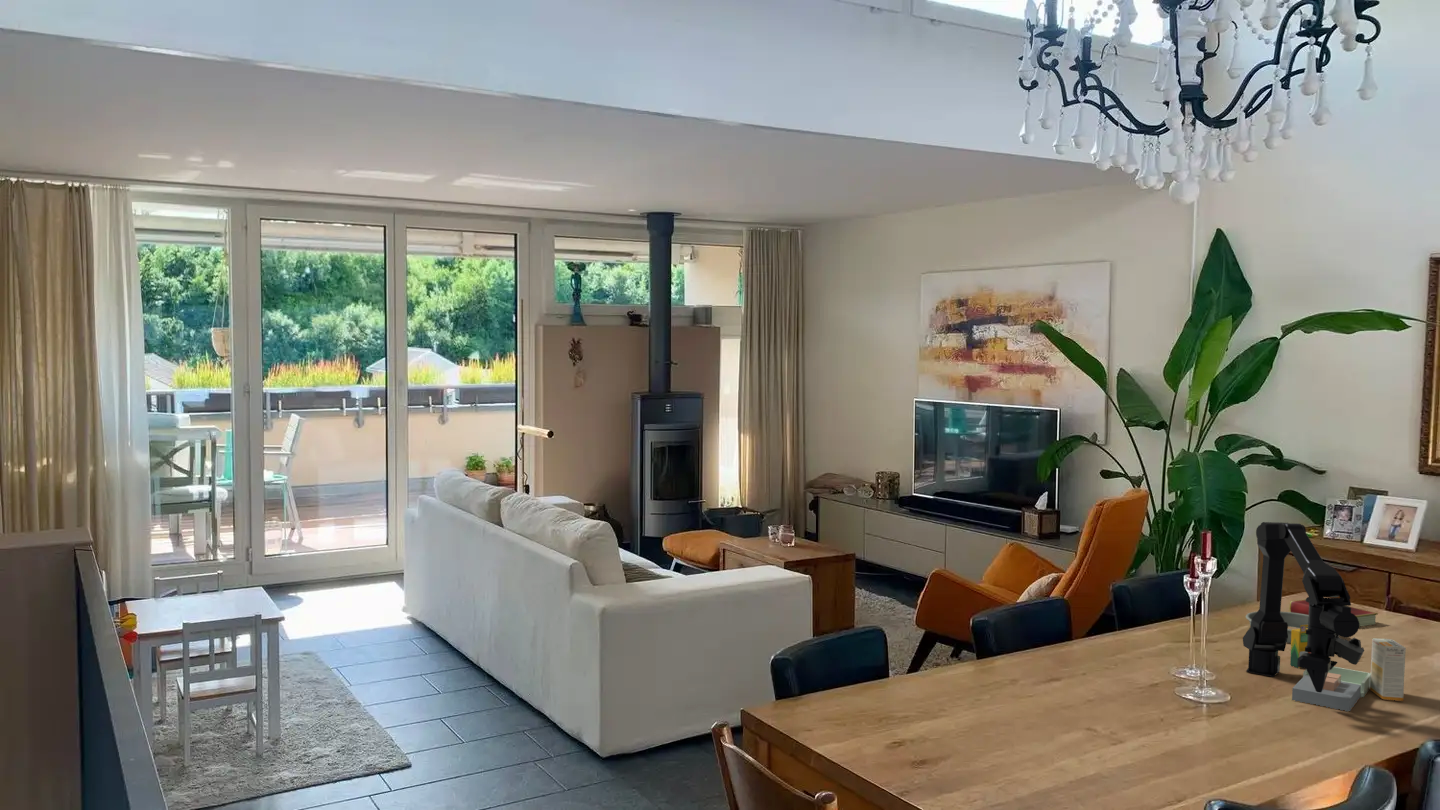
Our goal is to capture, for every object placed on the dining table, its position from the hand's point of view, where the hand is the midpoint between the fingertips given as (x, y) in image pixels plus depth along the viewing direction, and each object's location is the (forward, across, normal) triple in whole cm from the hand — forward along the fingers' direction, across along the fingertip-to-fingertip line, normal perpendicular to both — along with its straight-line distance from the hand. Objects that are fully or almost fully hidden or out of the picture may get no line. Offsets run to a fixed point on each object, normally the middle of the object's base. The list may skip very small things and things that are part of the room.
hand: (1319, 691), depth 252 cm
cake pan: (+4, +69, +20) cm, 72 cm away
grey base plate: (+4, +9, 0) cm, 10 cm away
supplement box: (+4, +22, -11) cm, 25 cm away
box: (+4, +22, 0) cm, 22 cm away
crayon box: (+4, +36, +10) cm, 38 cm away
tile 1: (+1, +8, 0) cm, 8 cm away
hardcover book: (+5, +100, +15) cm, 101 cm away
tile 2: (+1, +12, 0) cm, 13 cm away
